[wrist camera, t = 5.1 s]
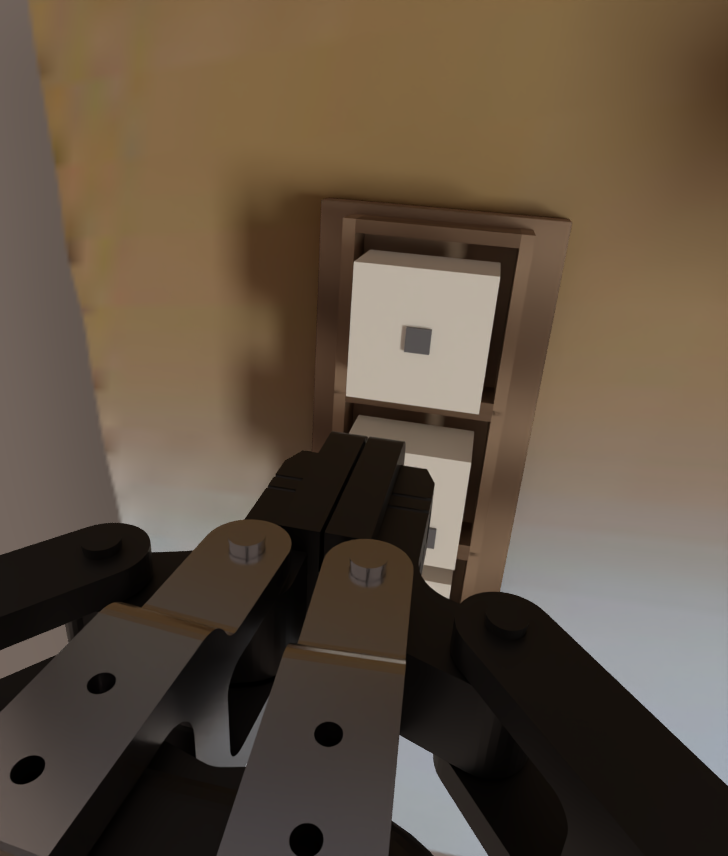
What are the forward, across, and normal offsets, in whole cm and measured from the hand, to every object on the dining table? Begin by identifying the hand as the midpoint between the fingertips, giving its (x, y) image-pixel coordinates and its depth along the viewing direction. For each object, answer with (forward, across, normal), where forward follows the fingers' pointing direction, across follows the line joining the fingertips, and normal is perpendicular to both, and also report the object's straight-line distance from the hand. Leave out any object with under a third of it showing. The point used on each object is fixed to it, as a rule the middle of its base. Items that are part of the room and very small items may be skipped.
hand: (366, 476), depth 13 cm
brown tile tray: (+16, 0, +7) cm, 18 cm away
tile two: (+13, 0, +7) cm, 15 cm away
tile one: (+14, 0, 0) cm, 14 cm away
